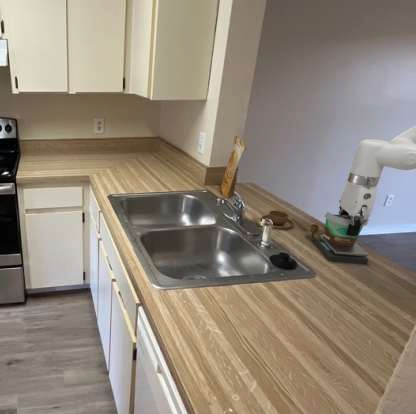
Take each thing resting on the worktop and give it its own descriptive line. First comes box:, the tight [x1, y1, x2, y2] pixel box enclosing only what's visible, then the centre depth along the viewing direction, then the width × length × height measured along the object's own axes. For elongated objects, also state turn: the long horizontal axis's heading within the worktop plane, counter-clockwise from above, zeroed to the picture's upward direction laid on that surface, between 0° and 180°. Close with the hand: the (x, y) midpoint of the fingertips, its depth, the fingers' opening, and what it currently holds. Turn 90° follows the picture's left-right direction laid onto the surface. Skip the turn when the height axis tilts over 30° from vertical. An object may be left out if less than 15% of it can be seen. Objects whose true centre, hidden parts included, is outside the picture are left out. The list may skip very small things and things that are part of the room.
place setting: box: [254, 210, 320, 240], centre depth 131 cm, size 18×20×6 cm
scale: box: [312, 237, 369, 266], centre depth 114 cm, size 11×13×3 cm
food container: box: [322, 211, 368, 246], centre depth 111 cm, size 12×6×10 cm, turn 76°
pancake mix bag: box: [220, 135, 247, 199], centre depth 163 cm, size 7×19×28 cm, turn 165°
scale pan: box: [319, 234, 369, 258], centre depth 113 cm, size 10×12×1 cm
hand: (346, 230), depth 111 cm, fingers closed on food container, 6 cm apart
